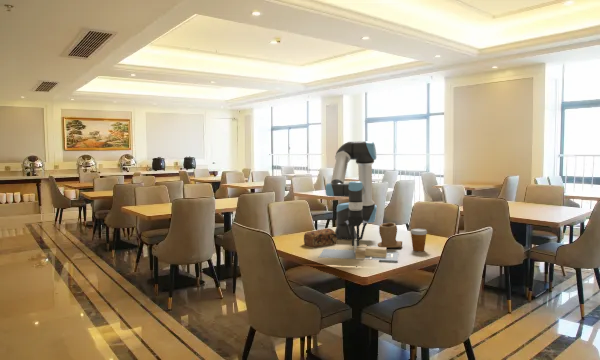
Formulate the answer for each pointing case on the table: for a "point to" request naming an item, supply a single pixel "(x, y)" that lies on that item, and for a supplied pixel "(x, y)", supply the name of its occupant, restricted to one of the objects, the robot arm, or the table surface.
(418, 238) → the disposable coffee cup
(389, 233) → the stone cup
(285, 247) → the table surface
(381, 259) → the t board
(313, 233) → the bread
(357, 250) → the t block
